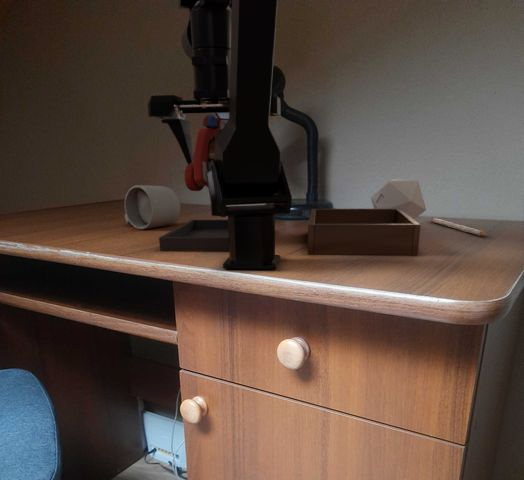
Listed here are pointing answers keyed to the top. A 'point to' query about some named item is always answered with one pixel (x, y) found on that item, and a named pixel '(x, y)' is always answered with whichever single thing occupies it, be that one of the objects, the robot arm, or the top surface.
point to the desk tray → (197, 236)
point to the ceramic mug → (151, 206)
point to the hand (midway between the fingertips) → (218, 169)
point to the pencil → (459, 227)
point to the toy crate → (362, 232)
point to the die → (400, 197)
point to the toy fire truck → (203, 153)
